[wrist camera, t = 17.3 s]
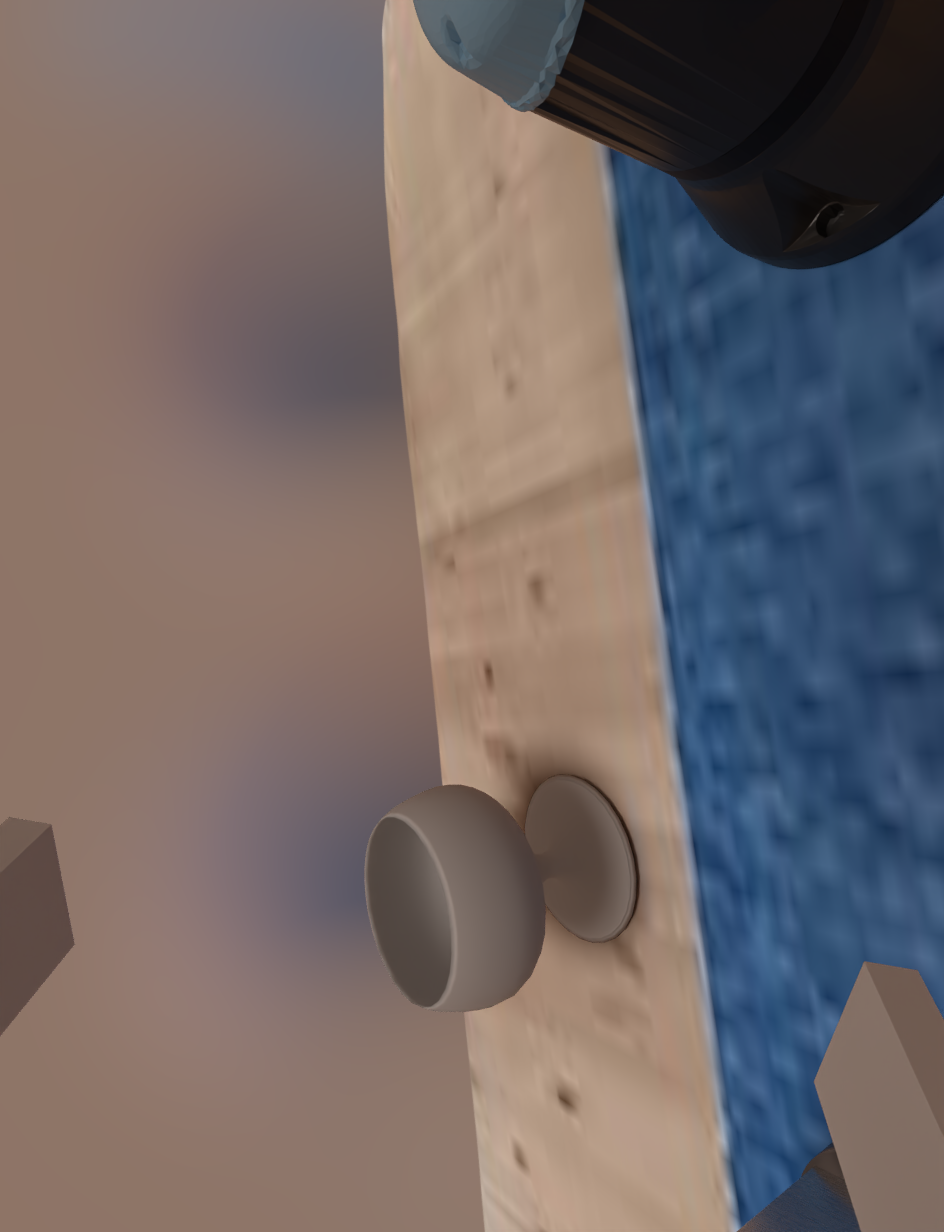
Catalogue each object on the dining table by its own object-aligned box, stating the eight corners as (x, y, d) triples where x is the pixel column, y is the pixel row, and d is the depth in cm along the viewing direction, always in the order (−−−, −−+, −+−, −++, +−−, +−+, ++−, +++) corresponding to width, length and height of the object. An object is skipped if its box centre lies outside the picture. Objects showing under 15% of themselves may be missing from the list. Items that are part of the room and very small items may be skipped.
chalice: (507, 867, 60) (346, 915, 52) (544, 727, 56) (372, 755, 47) (618, 998, 50) (438, 1084, 41) (675, 838, 45) (484, 899, 37)
